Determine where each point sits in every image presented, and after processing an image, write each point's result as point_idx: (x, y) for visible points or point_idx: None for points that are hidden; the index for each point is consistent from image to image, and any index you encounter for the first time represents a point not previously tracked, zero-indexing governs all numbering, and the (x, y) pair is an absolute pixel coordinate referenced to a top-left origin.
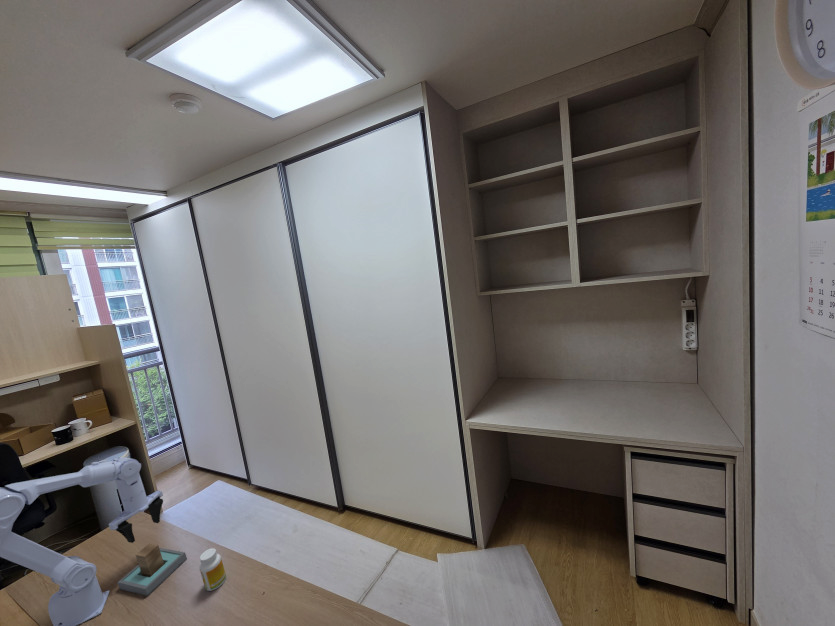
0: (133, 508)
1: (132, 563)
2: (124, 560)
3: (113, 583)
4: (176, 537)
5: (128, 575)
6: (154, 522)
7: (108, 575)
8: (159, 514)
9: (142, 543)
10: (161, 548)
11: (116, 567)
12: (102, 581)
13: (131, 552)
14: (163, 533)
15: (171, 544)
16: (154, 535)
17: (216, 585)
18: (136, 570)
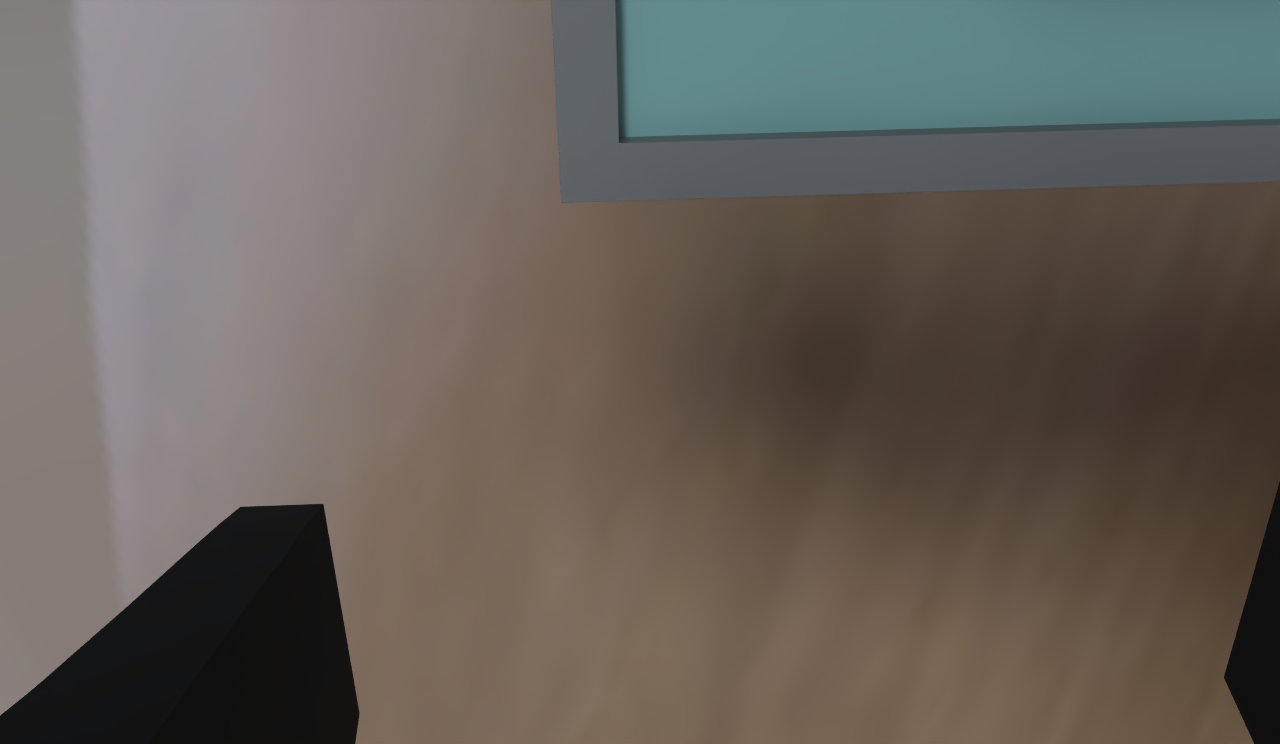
0: None
1: (827, 491)
2: (795, 679)
3: (1196, 391)
4: (162, 242)
5: (1262, 122)
6: (351, 676)
7: (1055, 631)
8: (23, 721)
9: (478, 740)
10: (565, 88)
11: (919, 664)
12: (1154, 607)
13: (654, 729)
14: None
15: (322, 161)
16: None
17: None
18: (1130, 83)
